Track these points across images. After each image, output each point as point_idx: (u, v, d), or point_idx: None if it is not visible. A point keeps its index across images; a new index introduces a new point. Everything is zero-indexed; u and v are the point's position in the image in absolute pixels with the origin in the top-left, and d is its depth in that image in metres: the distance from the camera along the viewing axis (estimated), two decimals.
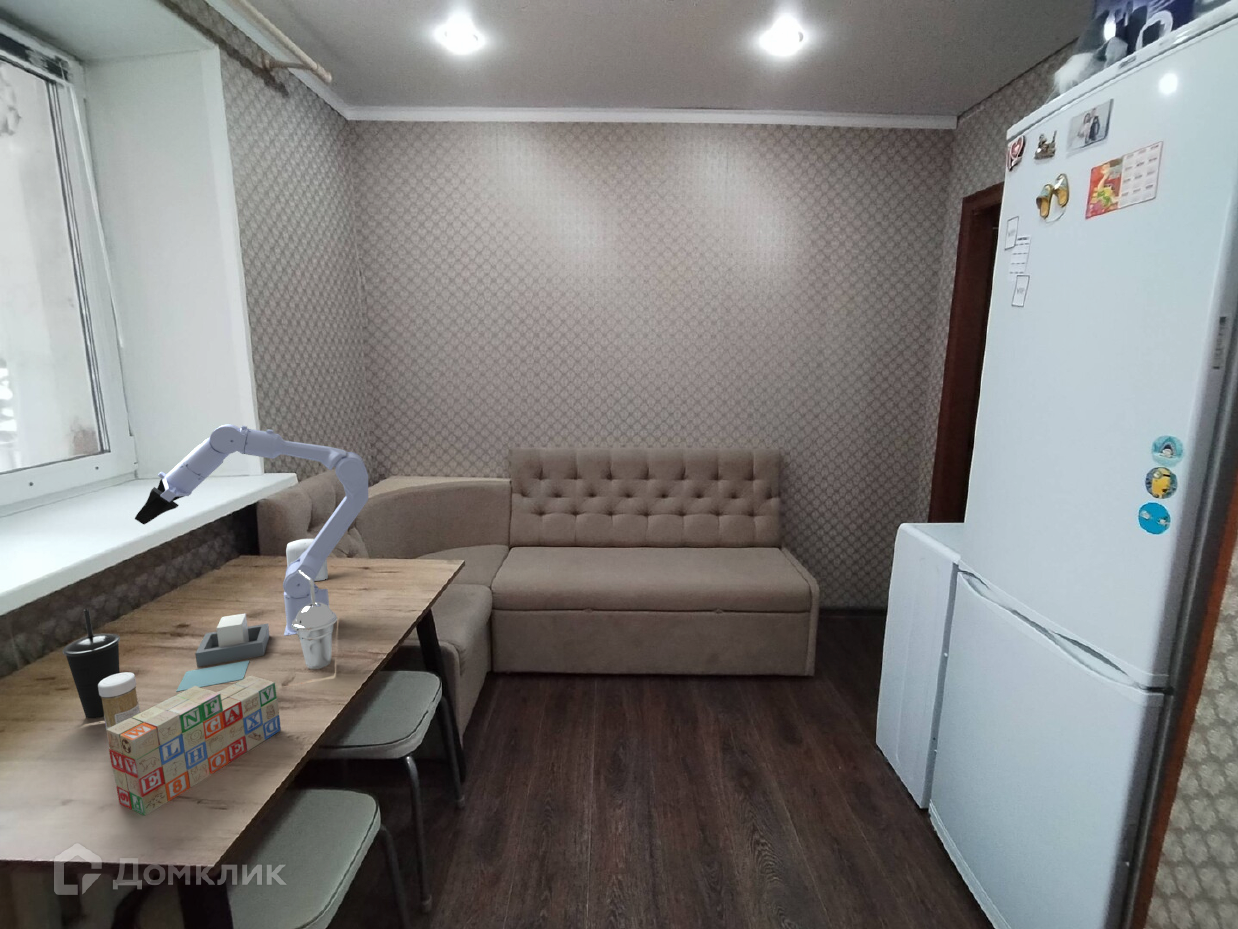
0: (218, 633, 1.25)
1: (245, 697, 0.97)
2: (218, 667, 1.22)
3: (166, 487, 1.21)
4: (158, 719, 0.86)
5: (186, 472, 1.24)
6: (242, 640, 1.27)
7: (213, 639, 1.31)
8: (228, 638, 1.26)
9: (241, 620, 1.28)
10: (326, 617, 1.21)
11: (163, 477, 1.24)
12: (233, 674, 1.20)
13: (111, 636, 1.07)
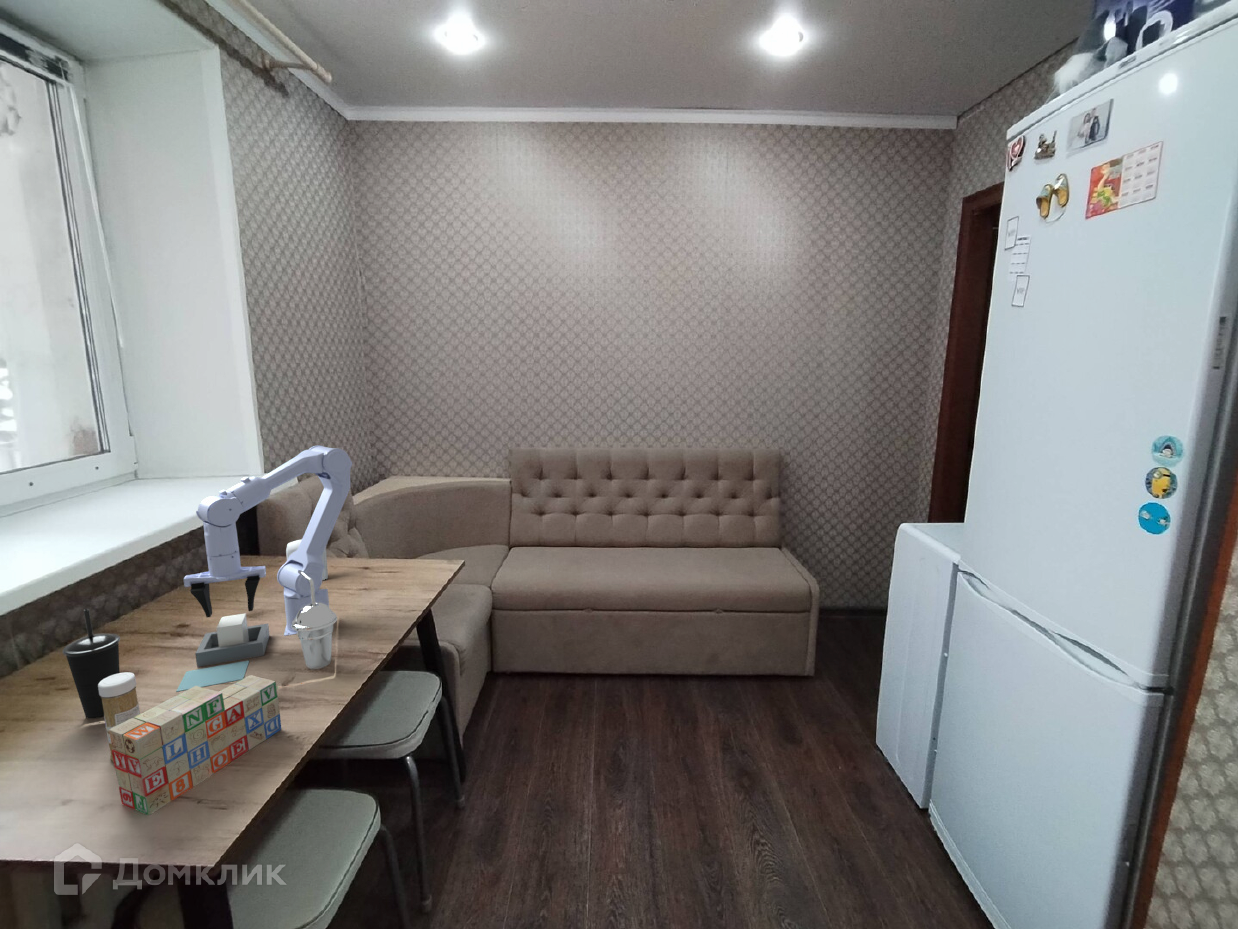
0: (218, 633, 1.25)
1: (247, 696, 0.97)
2: (218, 667, 1.22)
3: (254, 571, 1.27)
4: (161, 718, 0.86)
5: (238, 555, 1.26)
6: (242, 640, 1.27)
7: (213, 639, 1.31)
8: (228, 638, 1.26)
9: (241, 620, 1.28)
10: (326, 617, 1.21)
11: (230, 576, 1.24)
12: (233, 674, 1.20)
13: (111, 636, 1.07)
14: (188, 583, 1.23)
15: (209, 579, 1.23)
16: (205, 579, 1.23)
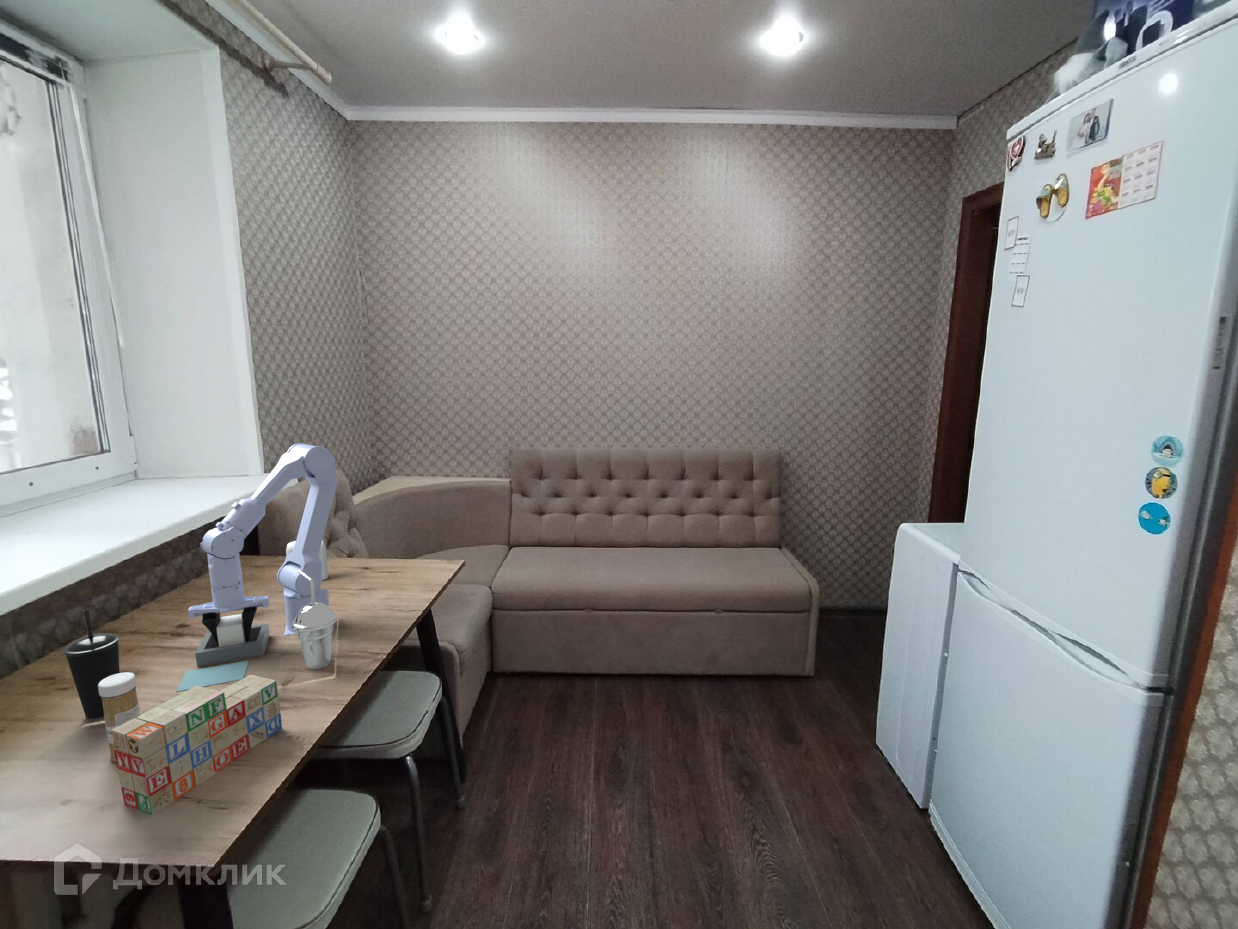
0: (218, 633, 1.25)
1: (248, 696, 0.97)
2: (218, 667, 1.22)
3: (258, 601, 1.29)
4: (164, 718, 0.86)
5: (241, 586, 1.27)
6: (242, 640, 1.27)
7: (213, 639, 1.31)
8: (228, 638, 1.26)
9: (241, 620, 1.28)
10: (326, 617, 1.21)
11: (233, 607, 1.26)
12: (233, 674, 1.20)
13: (111, 636, 1.07)
14: (192, 614, 1.24)
15: (213, 610, 1.25)
16: (209, 610, 1.24)
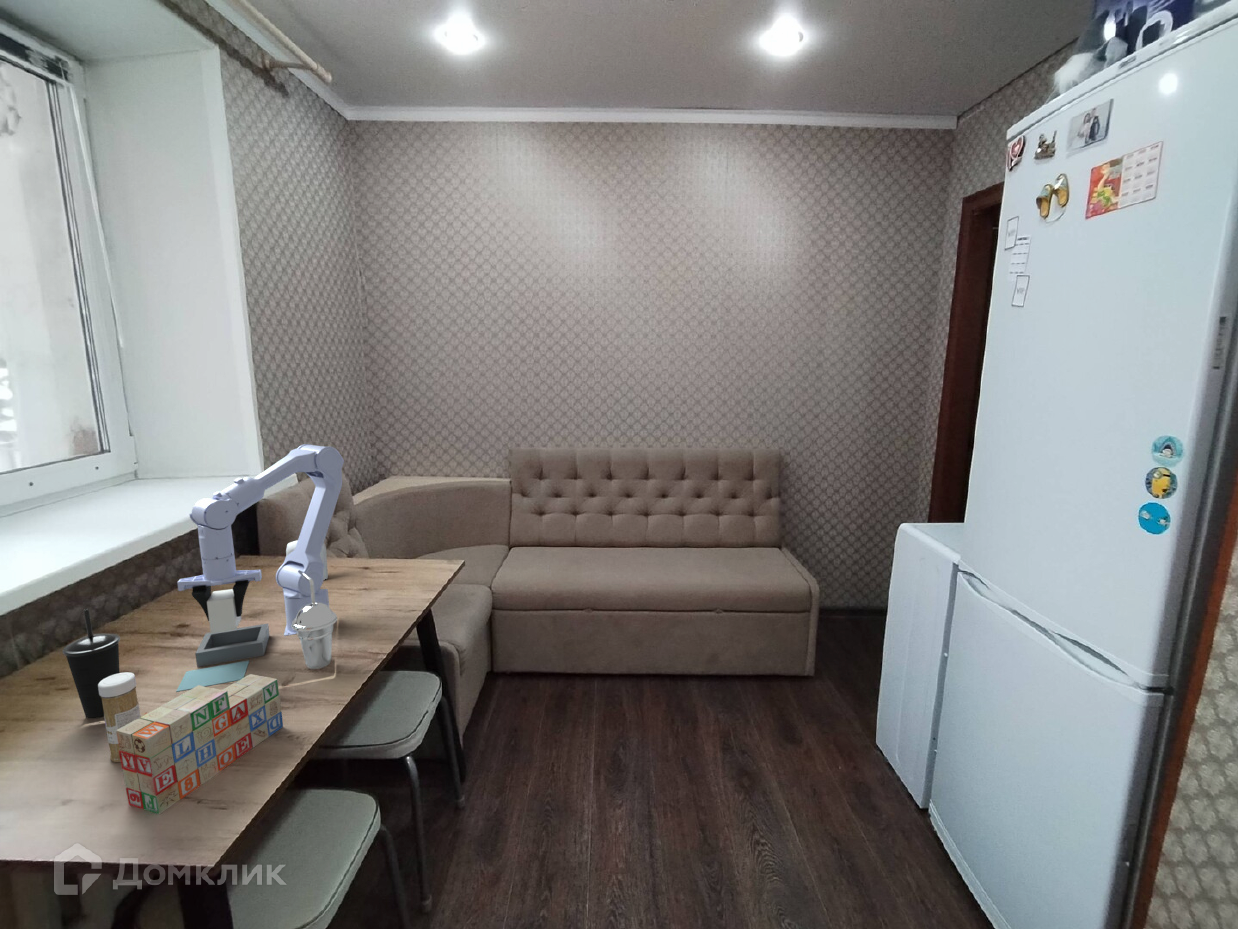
0: (208, 607, 1.21)
1: (250, 694, 0.97)
2: (218, 667, 1.22)
3: (250, 575, 1.25)
4: (169, 718, 0.86)
5: (233, 558, 1.24)
6: (233, 615, 1.24)
7: (213, 639, 1.31)
8: (219, 612, 1.22)
9: (232, 594, 1.25)
10: (326, 617, 1.21)
11: (224, 580, 1.22)
12: (233, 674, 1.20)
13: (111, 636, 1.07)
14: (182, 587, 1.21)
15: (203, 583, 1.21)
16: (199, 583, 1.21)
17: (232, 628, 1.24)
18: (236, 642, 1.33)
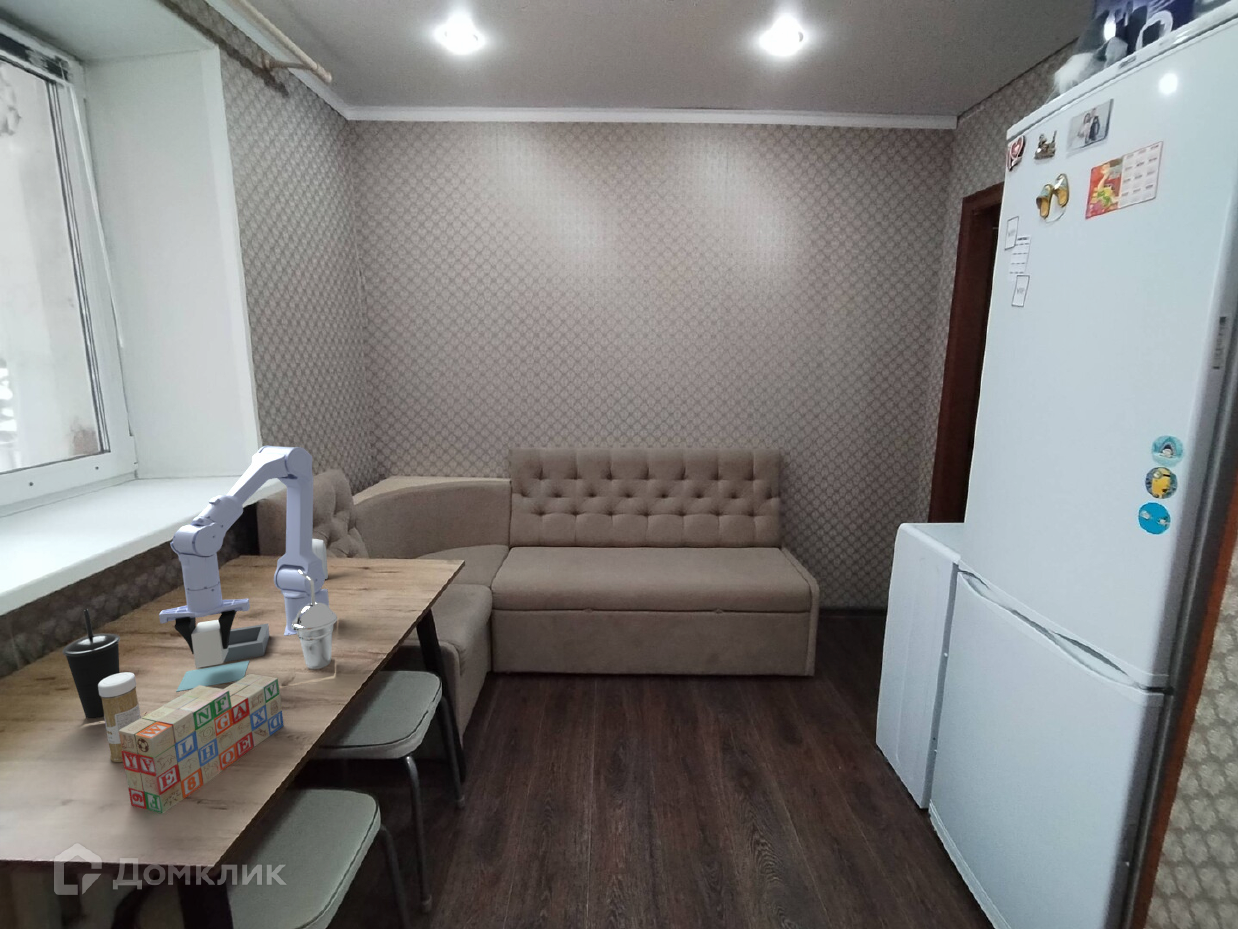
0: (193, 640, 1.14)
1: (251, 694, 0.98)
2: (218, 667, 1.22)
3: (237, 605, 1.18)
4: (171, 717, 0.86)
5: (219, 588, 1.17)
6: (220, 648, 1.17)
7: None
8: (205, 645, 1.15)
9: (219, 626, 1.18)
10: (326, 617, 1.21)
11: (209, 611, 1.15)
12: (233, 674, 1.20)
13: (111, 636, 1.07)
14: (164, 619, 1.13)
15: (187, 615, 1.14)
16: (183, 615, 1.14)
17: (218, 662, 1.17)
18: (236, 642, 1.33)
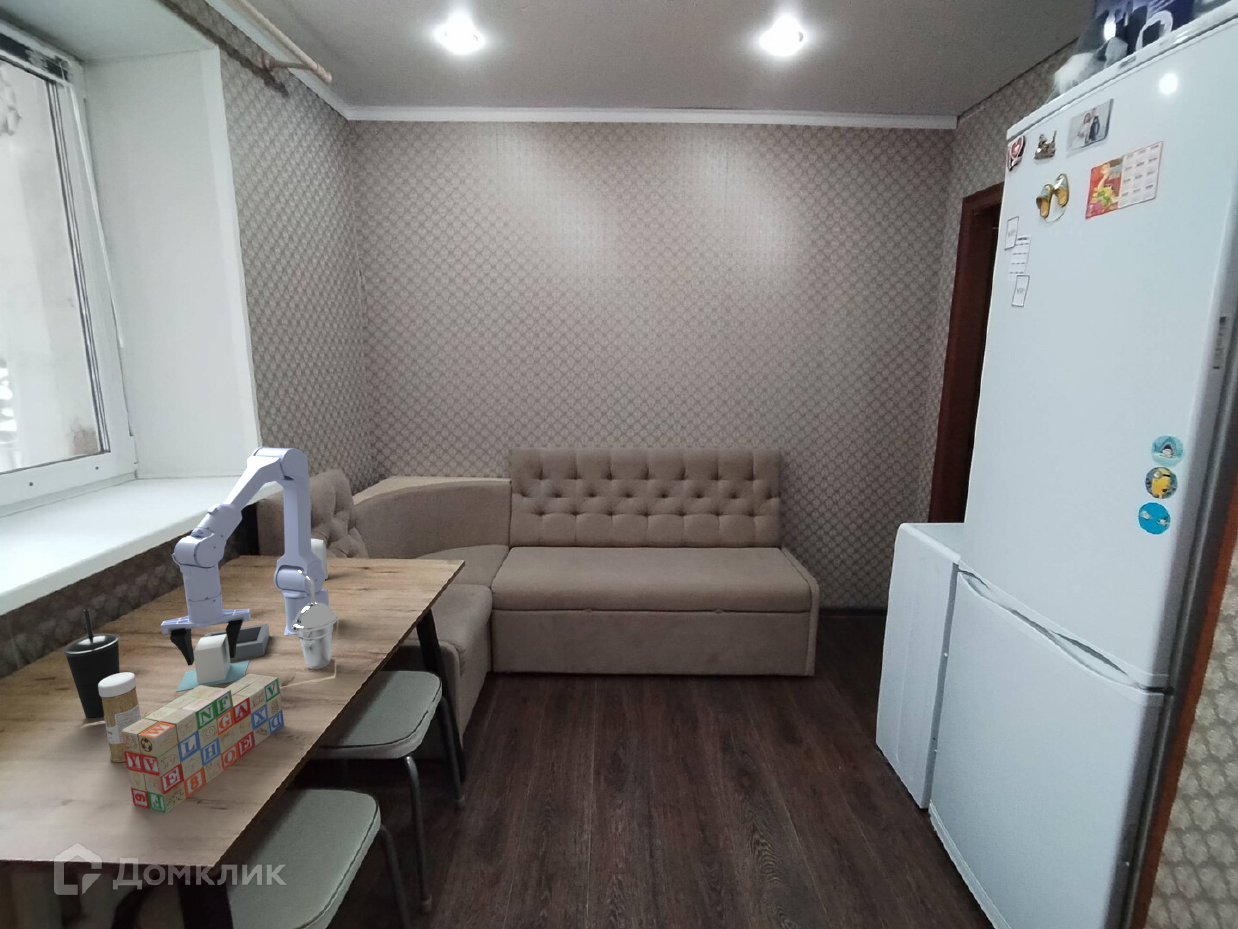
0: (195, 657, 1.15)
1: (252, 693, 0.98)
2: None
3: (238, 615, 1.18)
4: (174, 717, 0.86)
5: (220, 598, 1.17)
6: (221, 664, 1.17)
7: None
8: (206, 662, 1.16)
9: (221, 642, 1.18)
10: (326, 617, 1.21)
11: (211, 622, 1.15)
12: (233, 674, 1.20)
13: (111, 636, 1.07)
14: (166, 630, 1.14)
15: (188, 625, 1.14)
16: (184, 625, 1.14)
17: (220, 678, 1.17)
18: None
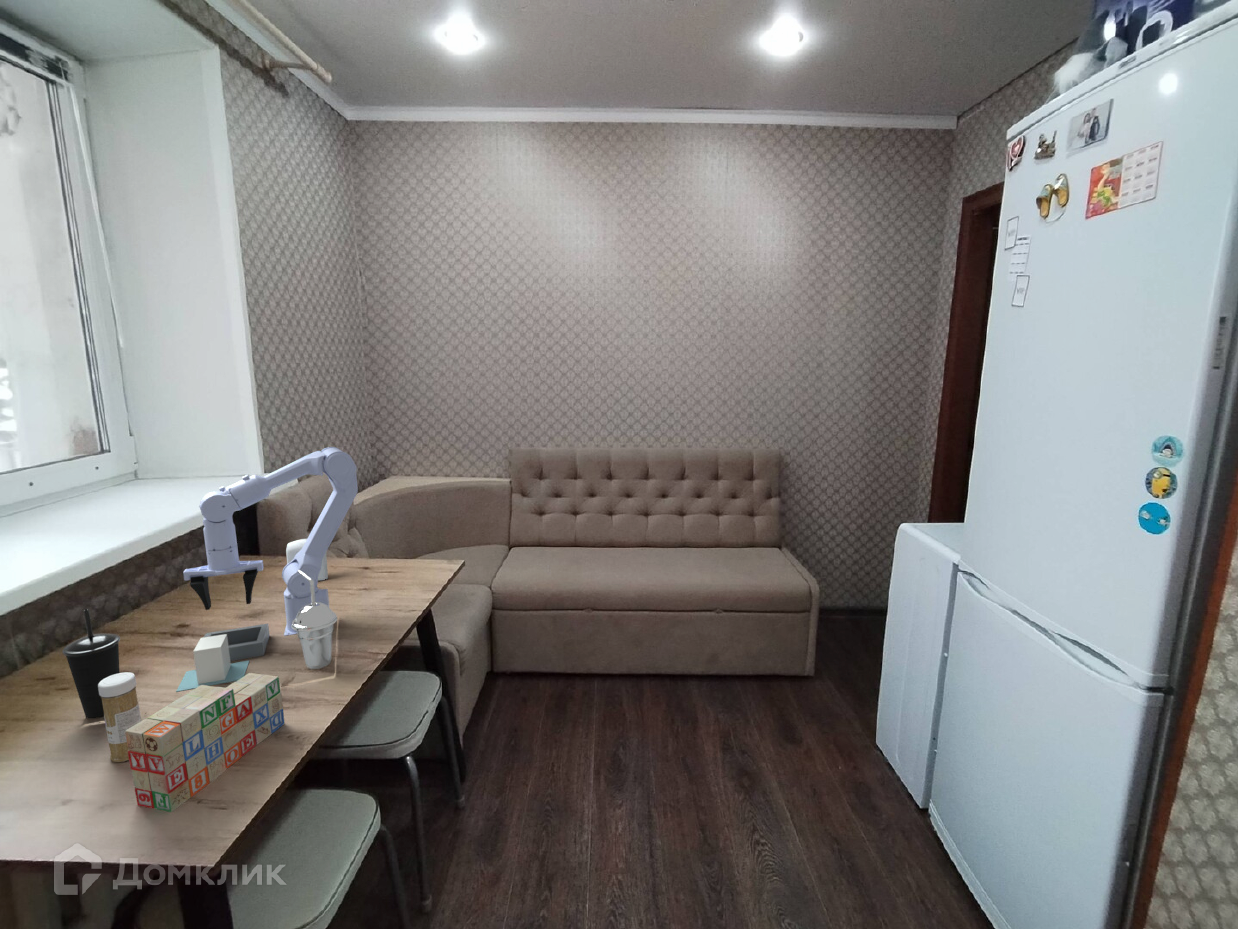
0: (195, 657, 1.15)
1: (254, 692, 0.98)
2: None
3: (252, 565, 1.31)
4: (178, 716, 0.86)
5: (236, 549, 1.30)
6: (221, 664, 1.17)
7: None
8: (206, 662, 1.16)
9: (221, 642, 1.18)
10: (326, 617, 1.21)
11: (228, 570, 1.28)
12: (233, 674, 1.20)
13: (111, 636, 1.07)
14: (188, 576, 1.27)
15: (208, 573, 1.27)
16: (204, 573, 1.27)
17: (220, 678, 1.17)
18: (236, 642, 1.33)
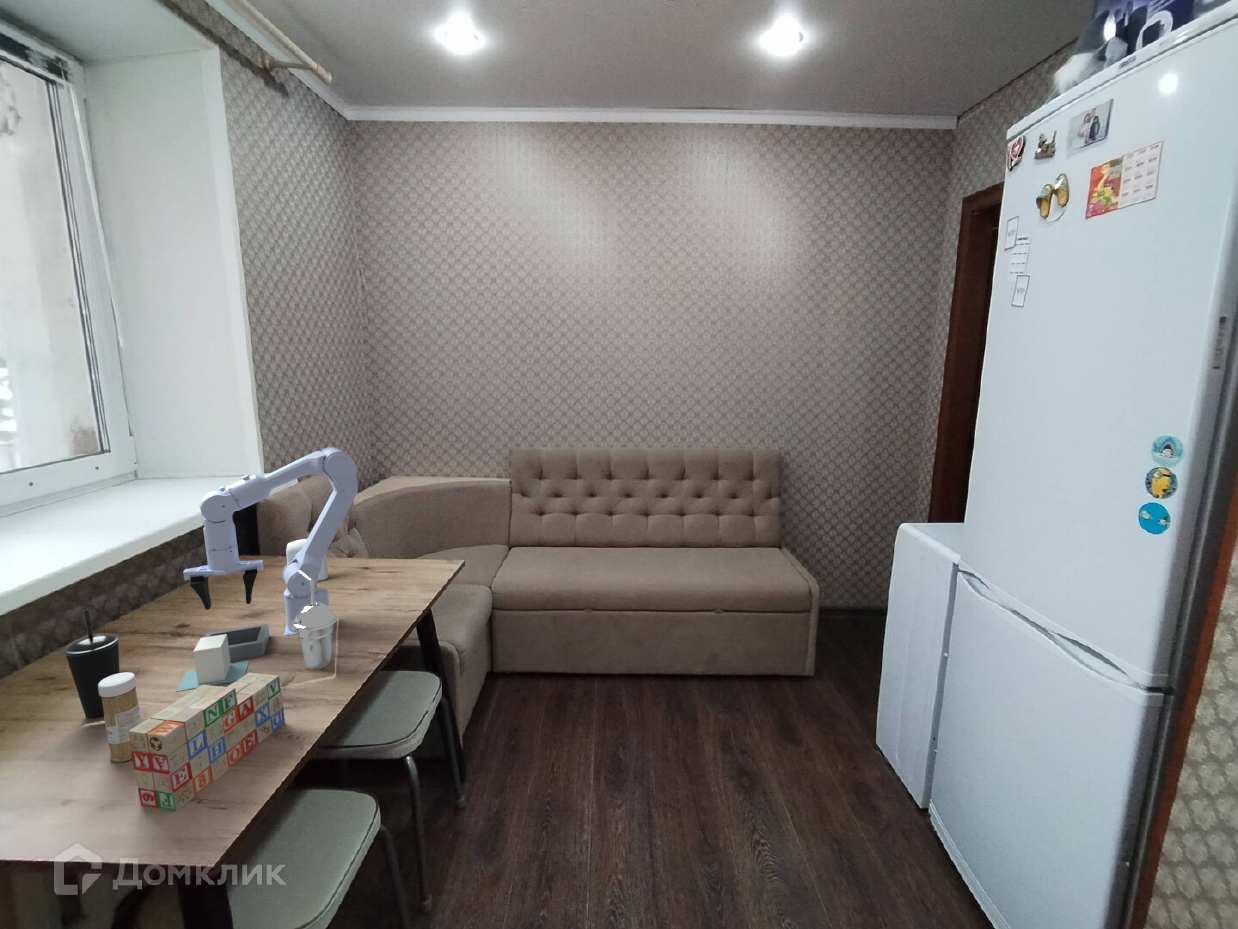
0: (195, 657, 1.15)
1: (255, 691, 0.98)
2: None
3: (252, 565, 1.31)
4: (182, 716, 0.86)
5: (236, 549, 1.30)
6: (221, 664, 1.17)
7: None
8: (206, 662, 1.16)
9: (221, 642, 1.18)
10: (326, 617, 1.21)
11: (228, 570, 1.28)
12: (233, 674, 1.20)
13: (111, 636, 1.07)
14: (188, 576, 1.27)
15: (208, 572, 1.27)
16: (204, 572, 1.27)
17: (220, 678, 1.17)
18: (236, 642, 1.33)
